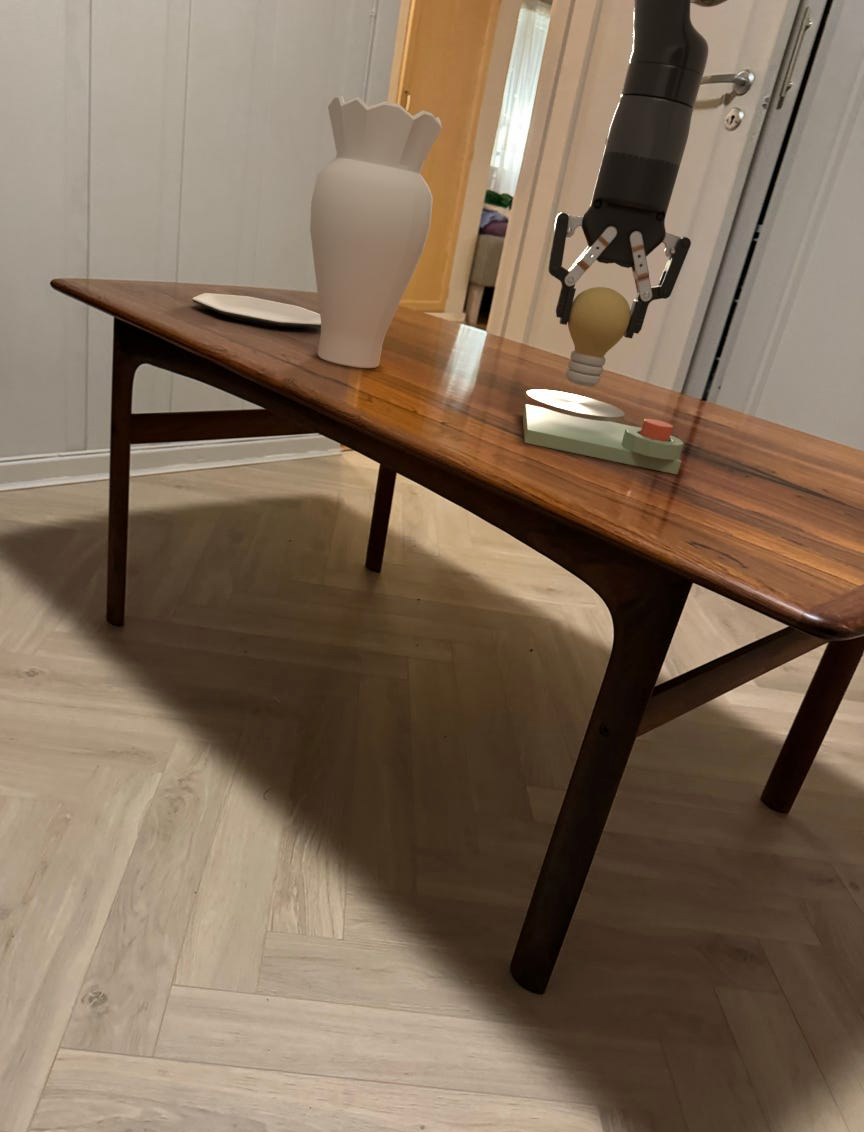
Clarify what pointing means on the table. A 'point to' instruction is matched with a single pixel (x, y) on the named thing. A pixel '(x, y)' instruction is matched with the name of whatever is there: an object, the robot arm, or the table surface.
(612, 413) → the scale pan
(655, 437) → the button
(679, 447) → the scale
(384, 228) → the vase
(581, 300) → the light bulb
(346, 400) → the table surface
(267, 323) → the plate
